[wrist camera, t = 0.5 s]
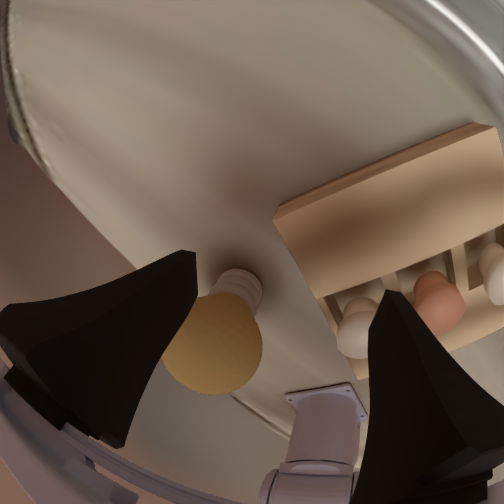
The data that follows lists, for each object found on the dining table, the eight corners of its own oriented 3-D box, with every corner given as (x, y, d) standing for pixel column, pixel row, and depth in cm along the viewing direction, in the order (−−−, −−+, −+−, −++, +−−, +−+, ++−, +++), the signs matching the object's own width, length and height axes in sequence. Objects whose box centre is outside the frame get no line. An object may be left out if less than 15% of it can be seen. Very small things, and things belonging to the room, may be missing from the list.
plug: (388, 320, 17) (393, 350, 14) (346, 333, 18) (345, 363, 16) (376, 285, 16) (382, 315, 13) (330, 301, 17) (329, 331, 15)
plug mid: (452, 295, 14) (465, 323, 12) (412, 311, 16) (420, 341, 13) (447, 257, 13) (463, 284, 11) (403, 275, 15) (412, 304, 12)
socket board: (498, 301, 16) (510, 323, 14) (357, 355, 23) (357, 380, 20) (472, 122, 11) (495, 126, 9) (280, 204, 18) (272, 221, 16)
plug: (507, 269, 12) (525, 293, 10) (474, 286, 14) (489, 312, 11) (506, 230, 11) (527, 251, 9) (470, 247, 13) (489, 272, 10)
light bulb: (193, 282, 24) (132, 368, 15) (231, 233, 20) (164, 327, 12) (250, 324, 24) (213, 419, 16) (297, 284, 21) (271, 396, 12)
